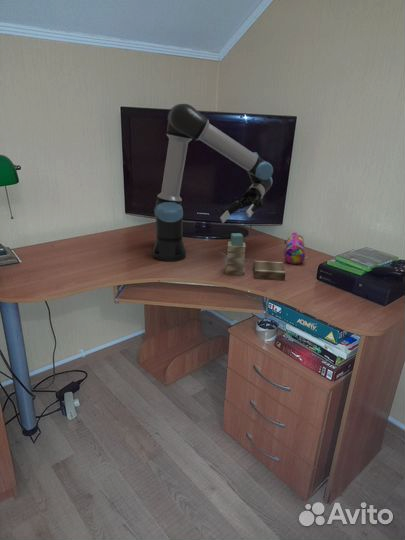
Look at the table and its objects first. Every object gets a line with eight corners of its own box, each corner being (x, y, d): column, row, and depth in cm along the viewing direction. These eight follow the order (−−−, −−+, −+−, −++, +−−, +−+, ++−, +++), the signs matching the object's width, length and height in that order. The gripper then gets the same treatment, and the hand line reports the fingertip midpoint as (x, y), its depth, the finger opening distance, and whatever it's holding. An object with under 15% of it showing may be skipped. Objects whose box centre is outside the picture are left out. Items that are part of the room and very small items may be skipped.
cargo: (232, 245, 154) (233, 236, 153) (230, 242, 158) (231, 233, 157) (242, 245, 155) (243, 236, 154) (240, 242, 159) (240, 233, 157)
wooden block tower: (224, 274, 158) (226, 246, 154) (225, 267, 165) (227, 241, 160) (244, 275, 158) (246, 247, 153) (244, 269, 164) (246, 242, 160)
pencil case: (283, 249, 191) (285, 231, 188) (302, 250, 190) (305, 233, 186) (283, 264, 171) (285, 245, 168) (305, 266, 170) (308, 247, 166)
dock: (254, 278, 155) (255, 270, 154) (253, 267, 166) (254, 260, 165) (284, 280, 154) (285, 272, 153) (281, 269, 165) (282, 262, 164)
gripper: (280, 195, 171) (263, 219, 158) (235, 206, 187) (215, 229, 174) (274, 180, 168) (256, 203, 155) (228, 193, 184) (208, 215, 171)
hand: (234, 217), depth 164 cm, fingers open, 13 cm apart
